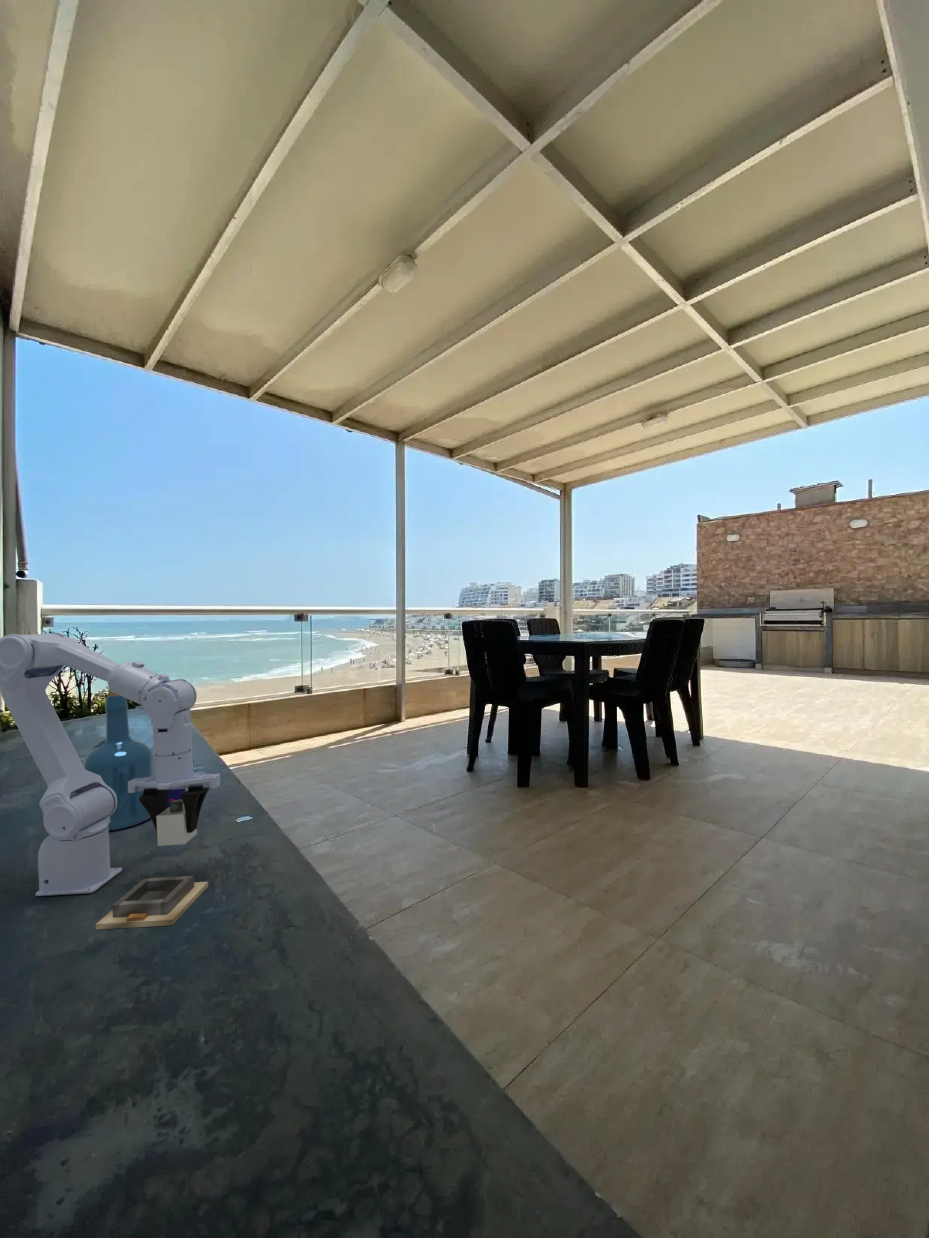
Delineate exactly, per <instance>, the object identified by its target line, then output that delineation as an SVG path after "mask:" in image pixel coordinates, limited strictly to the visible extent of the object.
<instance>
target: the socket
mask: <svg viewBox="0 0 929 1238" xmlns="http://www.w3.org/2000/svg"><path fill="white" fill-rule="evenodd" d="M208 887H209V881H199V882H197V881H195V875H184V876H183V875H182V876H163V877H148V878H147V877H146V878H142V880H141V881H139V882H138V883H137V884H136V885H135V886H133V887H132V888H131V889H130V890H128V892H126V893H125V894H123V896H121V897H120V898H119V899H118V900H117V901H116V902H114V903H113V904H112V907H111V908H112V909H111V910H109V912H108V913H106V914H105V915H104V916H103V917H102V918H101V919H100V920H99V921H97V922H96V923H95V930H113V929H115V930H116V929H128V928H129V929H132V928H148V927H162V926H163V927H166V926H174V924H176V923H177V922H178V920H180V918H181V917H182V916H183V915H184V914H185V912H186V911H187V910H188V909H189V908H190V907H191V906H193V904H194V903H195V902H196V901H197V899H198V898H199V897H200V896H201V895H202V894H203V892H205V891H206V890H207V889H208Z"/></svg>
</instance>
